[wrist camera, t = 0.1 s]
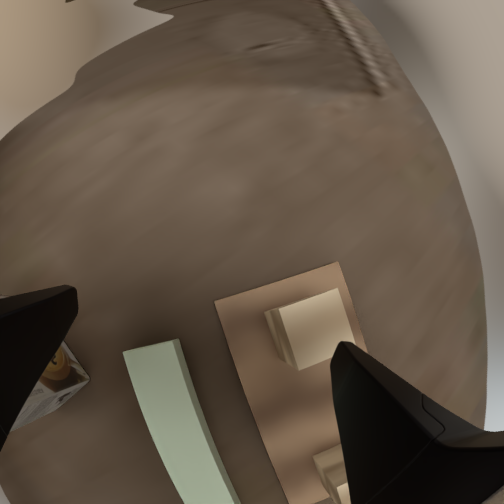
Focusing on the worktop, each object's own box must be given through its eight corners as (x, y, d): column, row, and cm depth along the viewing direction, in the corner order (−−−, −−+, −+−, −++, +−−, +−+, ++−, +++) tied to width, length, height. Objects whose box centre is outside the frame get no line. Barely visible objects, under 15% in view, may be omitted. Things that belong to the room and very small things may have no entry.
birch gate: (388, 460, 21) (426, 485, 14) (290, 505, 19) (308, 546, 12) (333, 263, 25) (370, 243, 18) (214, 302, 23) (211, 294, 17)
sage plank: (241, 504, 19) (245, 524, 16) (202, 511, 18) (201, 531, 15) (179, 338, 23) (172, 340, 19) (135, 348, 22) (122, 352, 19)
